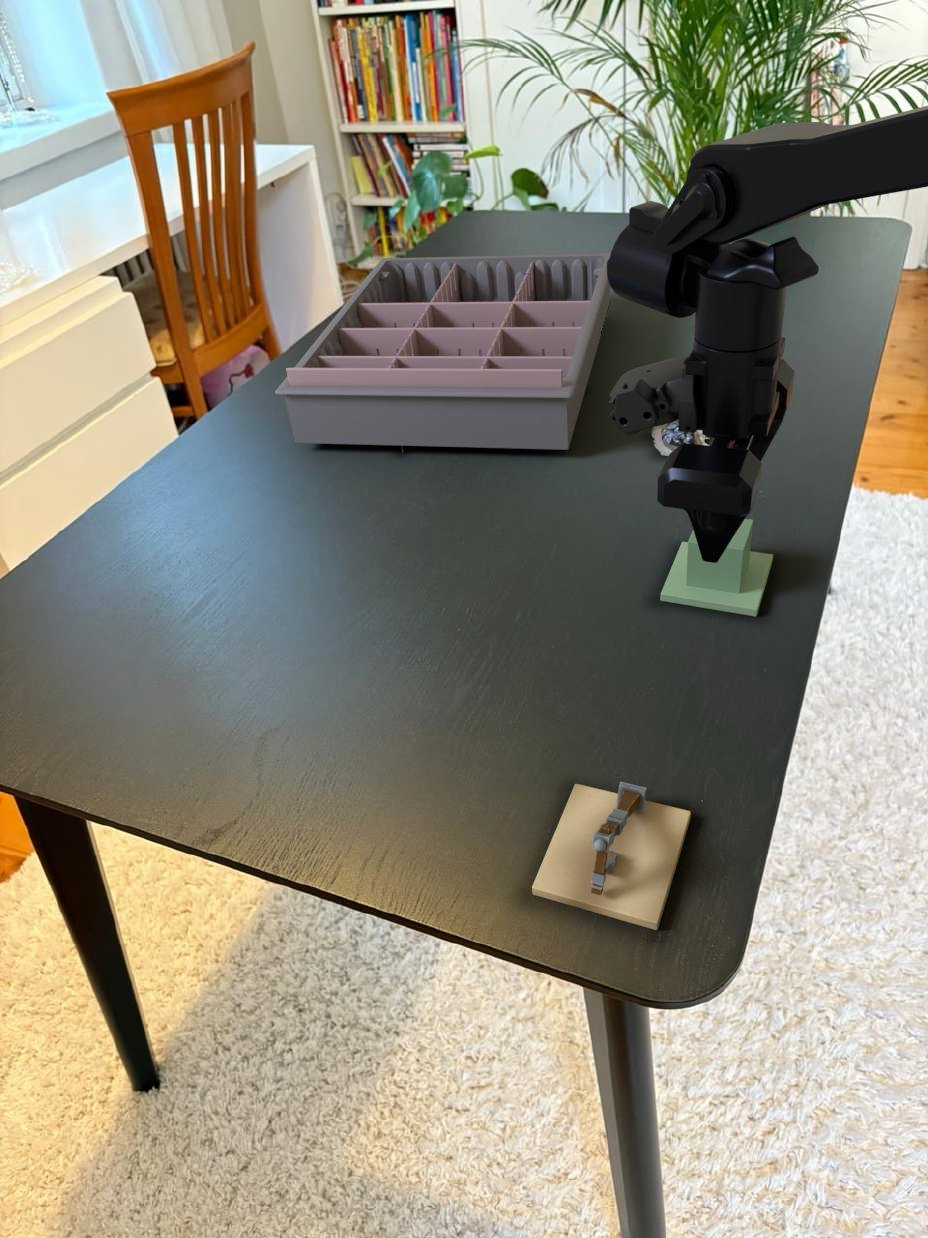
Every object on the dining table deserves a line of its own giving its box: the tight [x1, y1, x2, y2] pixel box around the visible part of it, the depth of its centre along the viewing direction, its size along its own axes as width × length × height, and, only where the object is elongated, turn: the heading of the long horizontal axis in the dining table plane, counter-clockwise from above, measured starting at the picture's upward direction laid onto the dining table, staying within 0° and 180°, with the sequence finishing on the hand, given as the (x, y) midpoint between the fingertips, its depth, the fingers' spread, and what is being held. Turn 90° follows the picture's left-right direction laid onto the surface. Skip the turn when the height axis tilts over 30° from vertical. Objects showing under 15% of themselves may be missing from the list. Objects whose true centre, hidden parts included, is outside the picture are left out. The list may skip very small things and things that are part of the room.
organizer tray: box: [274, 252, 611, 452], centre depth 117 cm, size 32×40×10 cm
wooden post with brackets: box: [591, 781, 648, 895], centre depth 61 cm, size 2×8×4 cm, turn 156°
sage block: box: [686, 518, 755, 593], centre depth 82 cm, size 4×4×4 cm
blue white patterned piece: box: [650, 419, 711, 457], centre depth 102 cm, size 7×8×2 cm
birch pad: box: [531, 783, 692, 931], centre depth 63 cm, size 8×9×1 cm
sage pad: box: [659, 541, 774, 617], centre depth 84 cm, size 8×8×1 cm
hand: (722, 527), depth 75 cm, fingers open, 9 cm apart
